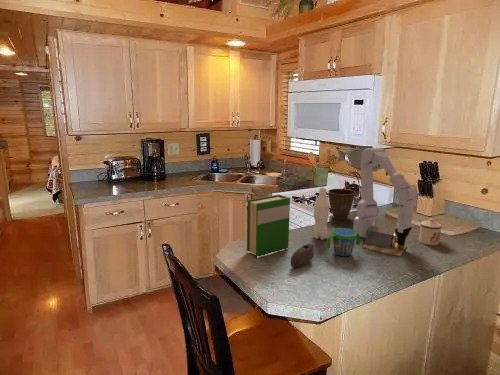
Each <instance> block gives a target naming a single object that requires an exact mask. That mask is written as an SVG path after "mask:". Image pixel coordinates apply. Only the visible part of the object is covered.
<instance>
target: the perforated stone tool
mask: <svg viewBox="0 0 500 375" xmlns="http://www.w3.org/2000/svg"><path fill="white" fill-rule="evenodd" d="M314 255H315V254H314V245H313V244H311V243H307V244H305V245H302V246H301V247H299V248H298V249H297V250H296V251H295V252H294V253H293V254H292V256H291V258H290V266H291V267H292V268H294V269H295V268H296V267H297V268H301V267H302V266H305V265H307V264H308V263H309V262H311V261H312V259H313V258H314Z"/></svg>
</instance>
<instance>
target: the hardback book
mask: <svg viewBox="0 0 500 375" xmlns="http://www.w3.org/2000/svg"><path fill="white" fill-rule="evenodd" d="M246 201H247V202H246V203H247V204H246V252H247V251H250V252H252V253H254V254H256V256H261V255H265V254H268V253H271V252H275V251H279V250H282V249H286V248H288V249H289V238H290V214H291V213H290V212H291V210H290V208H291V207H290V206H291V197H289V196H285V195H282V194H272V195H268V196H262V197H256V198H251V199H246ZM252 253H251V254H252ZM254 254H253V255H254ZM256 256H255V257H256Z"/></svg>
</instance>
